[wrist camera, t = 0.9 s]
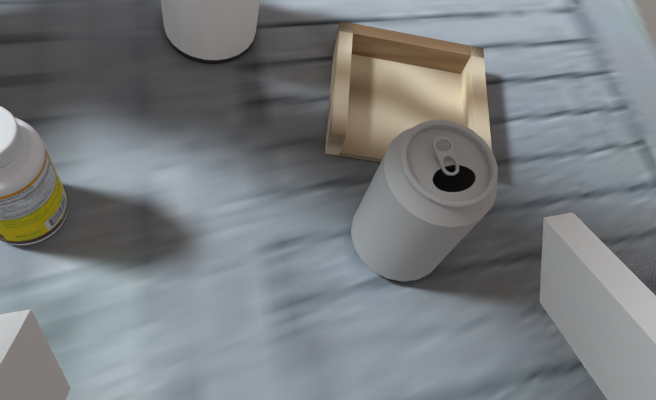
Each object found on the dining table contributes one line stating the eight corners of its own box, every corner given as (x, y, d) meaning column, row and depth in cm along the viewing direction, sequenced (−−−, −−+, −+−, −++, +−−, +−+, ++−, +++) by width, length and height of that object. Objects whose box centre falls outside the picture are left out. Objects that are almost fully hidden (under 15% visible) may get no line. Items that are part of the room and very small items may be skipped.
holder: (477, 177, 49) (492, 159, 47) (324, 153, 47) (331, 132, 45) (470, 69, 55) (483, 48, 53) (333, 44, 53) (340, 20, 51)
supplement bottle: (-23, 191, 41) (-87, 102, 32) (60, 170, 42) (21, 80, 34) (-8, 260, 38) (-72, 185, 30) (79, 234, 40) (43, 157, 32)
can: (369, 296, 42) (421, 227, 32) (334, 209, 45) (373, 119, 35) (455, 271, 45) (531, 198, 34) (418, 189, 48) (476, 100, 37)
